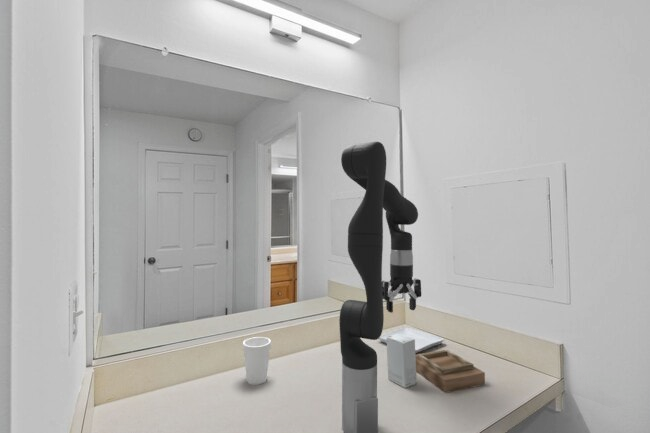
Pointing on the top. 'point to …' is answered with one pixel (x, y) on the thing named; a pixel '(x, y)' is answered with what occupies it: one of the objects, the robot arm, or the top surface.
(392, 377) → the skincare box
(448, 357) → the block
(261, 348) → the foam cup
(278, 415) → the top surface
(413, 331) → the salad plate
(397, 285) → the robot arm
